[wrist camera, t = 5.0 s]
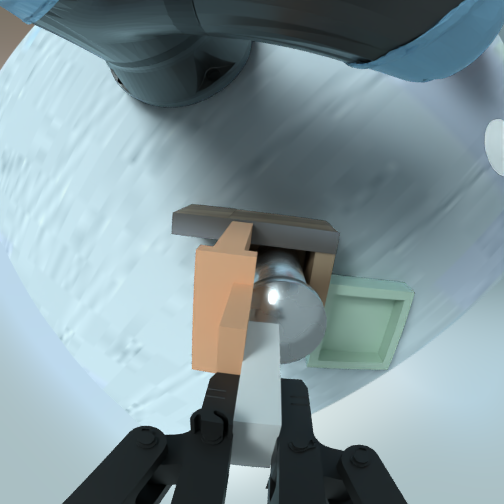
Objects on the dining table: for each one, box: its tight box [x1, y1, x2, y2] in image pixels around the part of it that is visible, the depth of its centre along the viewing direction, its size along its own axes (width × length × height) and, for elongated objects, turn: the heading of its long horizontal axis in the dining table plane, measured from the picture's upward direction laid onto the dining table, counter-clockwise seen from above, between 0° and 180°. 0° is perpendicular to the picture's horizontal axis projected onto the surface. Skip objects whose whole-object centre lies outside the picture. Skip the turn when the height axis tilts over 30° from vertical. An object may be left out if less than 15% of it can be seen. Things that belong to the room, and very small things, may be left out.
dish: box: [305, 274, 415, 370], centre depth 30 cm, size 10×10×3 cm
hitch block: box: [172, 204, 340, 307], centre depth 27 cm, size 9×14×6 cm, turn 84°
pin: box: [249, 245, 327, 364], centre depth 23 cm, size 6×6×13 cm
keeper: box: [192, 221, 258, 375], centre depth 18 cm, size 7×3×13 cm, turn 173°
